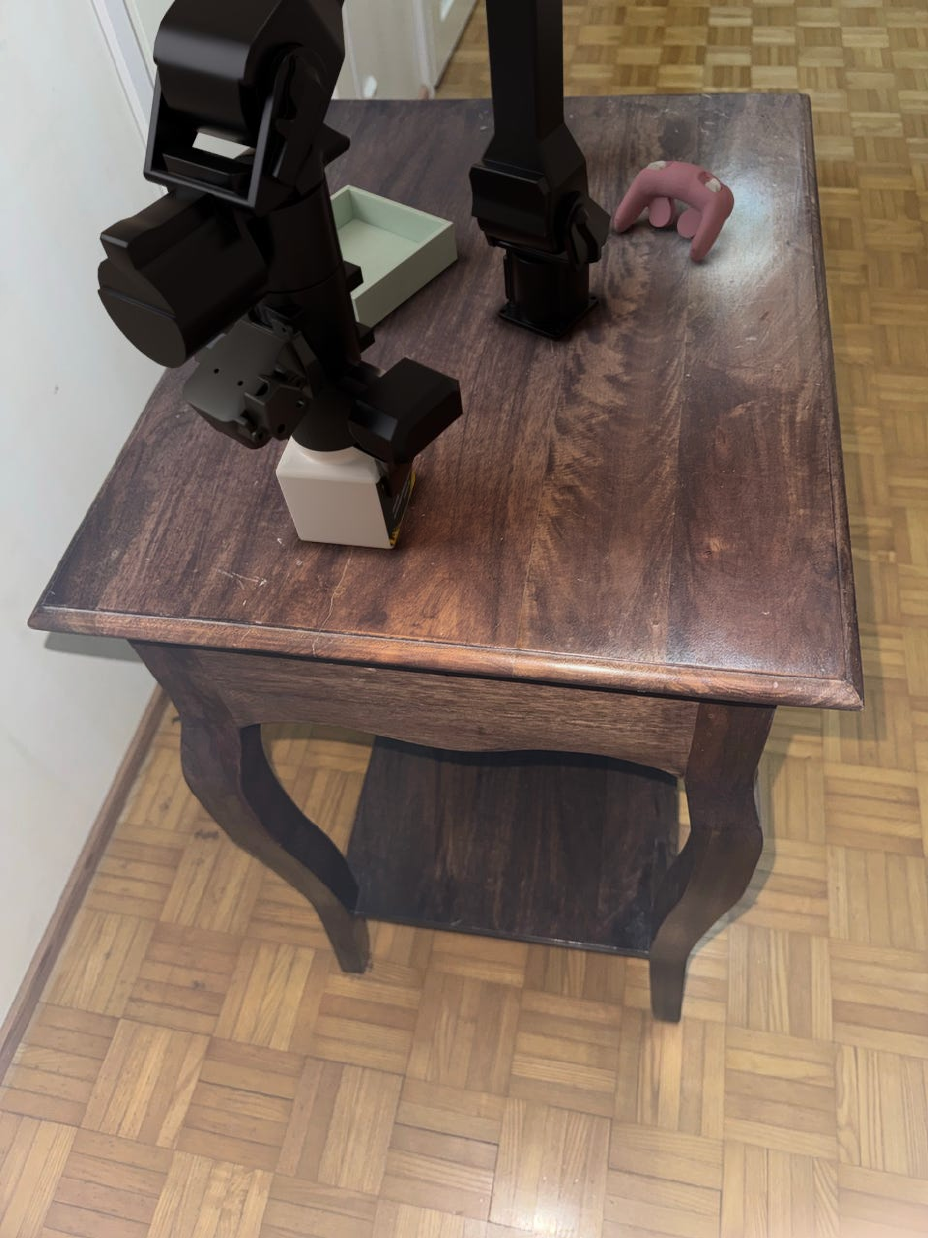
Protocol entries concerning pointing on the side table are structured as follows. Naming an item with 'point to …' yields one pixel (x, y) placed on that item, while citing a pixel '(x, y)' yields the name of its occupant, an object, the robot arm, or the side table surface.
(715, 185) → the video game controller
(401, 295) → the tray
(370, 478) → the medicine bottle
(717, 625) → the side table surface
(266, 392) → the robot arm
